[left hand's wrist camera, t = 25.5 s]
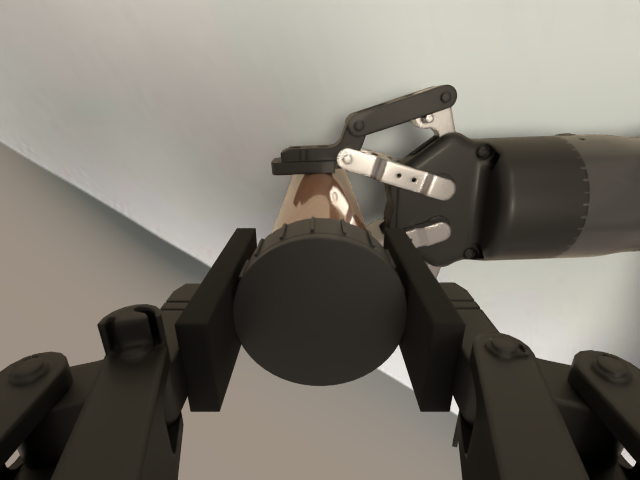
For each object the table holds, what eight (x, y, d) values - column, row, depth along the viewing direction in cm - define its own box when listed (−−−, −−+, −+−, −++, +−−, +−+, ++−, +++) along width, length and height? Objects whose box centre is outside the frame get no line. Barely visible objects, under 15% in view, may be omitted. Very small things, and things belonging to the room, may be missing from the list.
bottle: (316, 222, 29) (312, 374, 13) (279, 180, 27) (223, 292, 11) (360, 188, 28) (415, 307, 12) (324, 143, 26) (330, 207, 10)
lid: (430, 272, 12) (448, 299, 10) (335, 374, 14) (338, 412, 12) (299, 182, 11) (296, 197, 9) (214, 305, 12) (198, 337, 11)
